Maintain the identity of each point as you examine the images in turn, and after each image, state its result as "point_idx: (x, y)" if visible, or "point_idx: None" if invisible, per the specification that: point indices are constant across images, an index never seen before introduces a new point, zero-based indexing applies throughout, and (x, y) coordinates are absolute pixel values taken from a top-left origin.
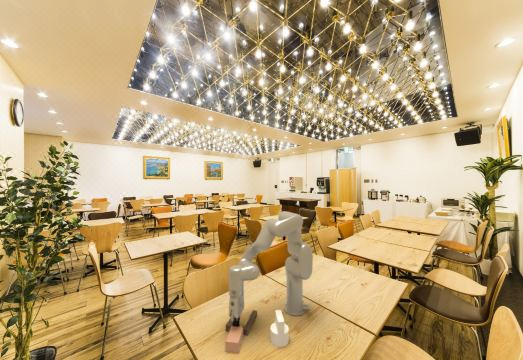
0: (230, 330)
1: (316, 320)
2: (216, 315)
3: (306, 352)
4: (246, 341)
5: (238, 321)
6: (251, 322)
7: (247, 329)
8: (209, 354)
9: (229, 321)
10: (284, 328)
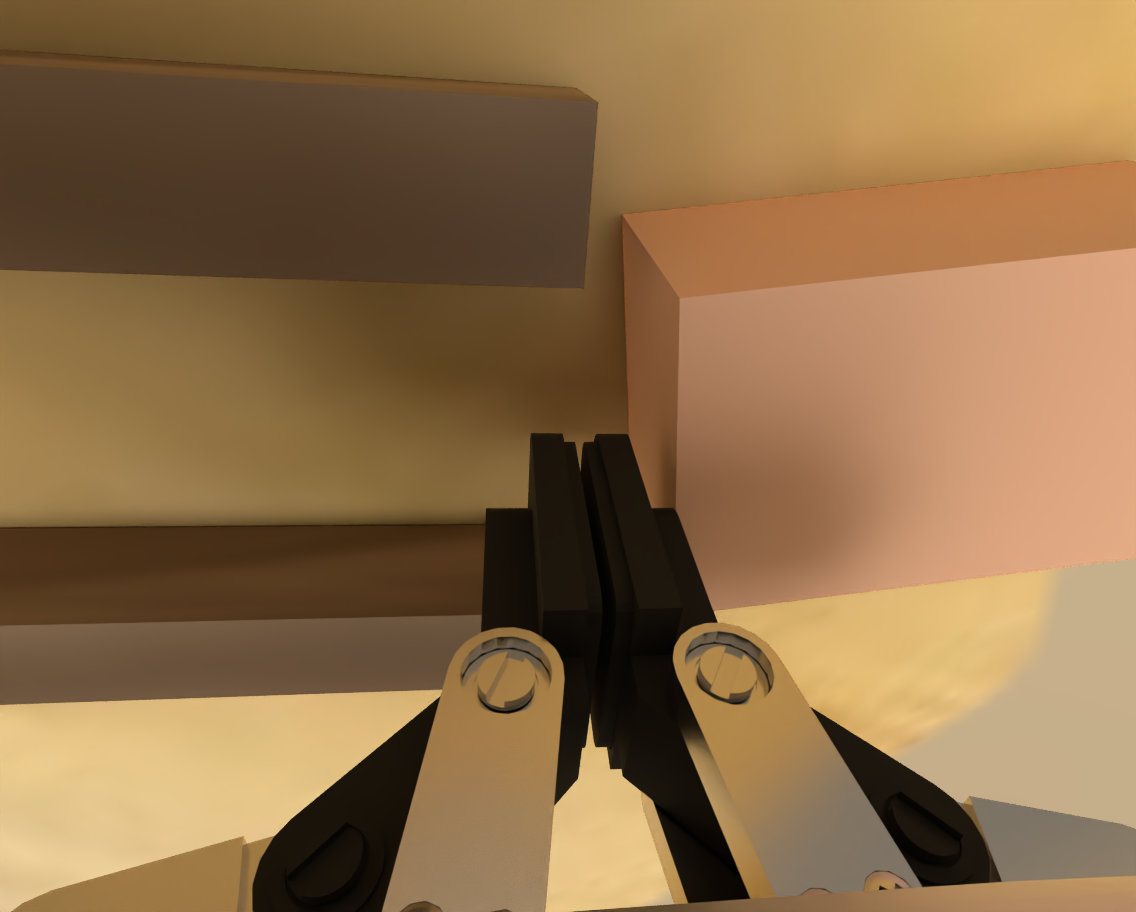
0: (837, 583)
1: None
2: (257, 807)
3: None
4: (775, 58)
5: (671, 574)
6: (119, 70)
7: (564, 121)
8: (1032, 596)
9: (410, 670)
10: None
